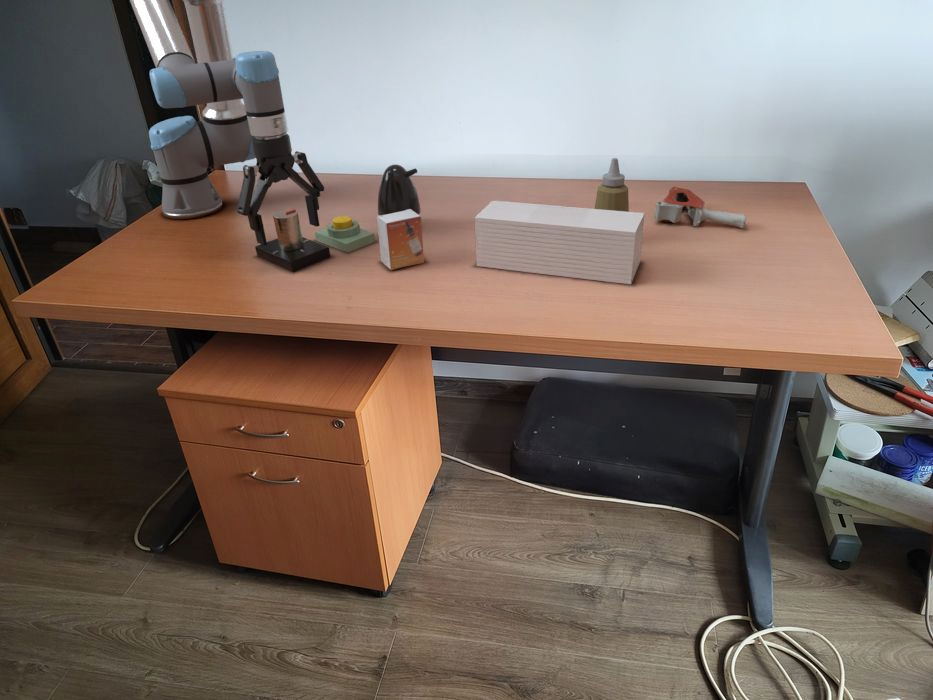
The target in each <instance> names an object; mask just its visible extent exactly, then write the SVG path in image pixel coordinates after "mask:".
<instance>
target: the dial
mask: <svg viewBox="0 0 933 700" xmlns="http://www.w3.org/2000/svg"><path fill="white" fill-rule="evenodd" d="M272 216H273V217H272V218H273V222H274V228H275V232H276V237H277V238H276V239H278V243H279V247H280V249H281V250H283V251H293V250H297V249H300V248H302V247H303V239H302V237H303V233H302V230H301V224H300V217H299V213H298V211H297V210H296V209H294V208H293V209H284V210H280V211H276V212H274V213H273V214H272Z"/></svg>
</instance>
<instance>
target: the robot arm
mask: <svg viewBox="0 0 933 700" xmlns="http://www.w3.org/2000/svg"><path fill="white" fill-rule="evenodd" d="M181 1H182V2H183V3H184V5H185V10H186V15H187V19H188V24H189V28H190V33H191V37H192V38H191V39H192V42H193V47H194V48H193V49H194V52H195V57H196V61H195V58H194V56H193V53H192V51H191V48H190V46H189V44H188V42H187V39H186V37H185V35H184V32H183V30H182V27H181V25H180V23H179V21H178V20H179V19H178V18H177V15H176V13H175V11H174V9H173V6H172V4H171V1H170V0H129V3H130V4H131V8H132V10H133V13H134V15H135V17H136V20H137V22H138V25H139V27H140V30H141V33H142V35H143V38H144V41H145V43H146V45H147V48H148V52H149V53H150V56H151V58H152V61H153V64H154V66H155V68H152V69H150V70H149V79H150V83H151V87H152V91H153V93H154V97H155V100H156V102H157V104H158V105H159V106H160V107H161V108H162V109H179V108H180V109H181V108H184V109H185V108H186V107H193V106H199V105H200V106H201V105H206V106H205V107H204V109H203V110H202V113H201V114H202V119H203V120H197V121H196V119H195V118H194V117H193V116H192V115H184V116H183V115H182V116H176V117H172V118H168V119H165V120H163V121H160V122H157V123H156V124H154V125H153V126H151V127H150V128H149V131H148V137H149V141H150V148H151V150H152V151H153V155H154V158H155V162H156V166H157V170H158V172H159V177H160V180H161V184H162V193H161V194H162V195H161V210H162V215H163V216H164V217H165V218H167V219H172V220H189V219H197V218H201V217H205V216H208V215H211V214H214V213H216V212H218V211H220V210H221V209H222V208H223V206H224V203H223V200H222V198H221V196H220V194H219V192H218V191H217V189H216V186H214V184H213V183H212V181H211V179H210V177H209V174H208V169H207V168H214V167H219V166H225V165H231V164H236V163H244V162H247V161H251V160H254V159H255V160H256V162H255V163H256V164H255V165H248V164H244V165H243V167H242V171H243V179H242V185H241V189H240V195H239V198H238V204H237V210H236V212H237V214H240V215H242V216H244V217H247V220H248V224H249V228H250V230H251V231H254V234H255V239H256V243H257V244H258V245H261V244H262V245H267V242H268V241H267V237H266V232H265V227H264V223H263V218H262V214H259V211H260V209H261V207H262V205H263V202H264V199H265V198H266V195H267V193H268V190H269V188H271V187H272V186H273V183H274V184H277V183H279V182H281V181H287V180H288V179H291V181H293V183H295V184H296V185H297V186H298V187H299V188H301V189H302V190H303V192H305V193H306V194H308V195H305V196H304V200H305V206H306V210H307V211H306V212H307V216H308V217H307V218H308V221H309V223H308V224H309V225H311V226H313V227H317V228H318V227H320V221H319V220H320V219H319V213H318V211H319V210H320V203H319V197H321V192H324V191H325V186H324V185H323V183H322V181H321V180H320V178H319V177H318V175H317V174H316V172H315V171H314V169H313V168H312V166H311V165H310V163H309V162H308V158H307V155H306V153H305V152H301V151H298V150H296V151H295V152H294V154H292V151H293V148H292V143H291V138H290V135H289V134H288V132H289V128H288V122H287V117H286V110H285V104H284V99H283V93H282V87H281V82H280V76H279V74H280V71H279V68H278V64H277V62H276V57H275V55H274V53H272V52H271V51H268V50H253V51H243V52H240V53H238V54H237V55H236V56H235V57H234V53H233V49H232V43H231V38H230V32H229V28H228V22H227V16H226V11H225V5H224V0H181ZM196 62H197V63H196ZM242 101H243V102H242ZM295 164H297V166H298V167H299V169H300V170H301V172H302V173H303V175H304V176H305V178H306V180H307V181H308V182H307V181H306V180H305V179H304V178H303V177H302V176H301V175H300V174H299V173H298V172H297V170H295V169H294V165H295ZM258 173H259V176H258ZM257 176H258V178H257V180H256V177H257ZM256 182H257V184H256ZM255 184H256V186H255Z"/></svg>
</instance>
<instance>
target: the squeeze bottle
mask: <svg viewBox="0 0 933 700" xmlns="http://www.w3.org/2000/svg"><path fill="white" fill-rule="evenodd" d="M619 164H620V163H619V159H618V158H617V157H612V158H611V162H610V164H609V168H608V173H604V174H603V175H602V180H601V181H602V183H601V184H600V185H599V186H597V191H596V197H595V203H594V209H601V210H613V211H625V212H630V205H629V203H630V202H629V187H628V186H627V185H626V184H625V179H626V178H625V175H624V174H623V173H621V172H620V165H619Z"/></svg>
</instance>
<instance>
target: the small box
mask: <svg viewBox="0 0 933 700" xmlns="http://www.w3.org/2000/svg"><path fill="white" fill-rule="evenodd" d="M376 225H377V234H378V235H377V236H378V243H379V251H380V261H381V263H382V264H383V265H384V266H386V267H387V268H388V269H389V270H390V271H394V270H397V269H401V268H404V267H405V268H406V267H409V266H415V265H419V264H424V263H425V254H424V253H425V252H424V251H425V250H424V240H423V239H424V238H423V227H422V217H421V215H420V214H419V215H418V214H417V213H415V212H414V211H413V210H411V209H408V210H405V211H400V212H396V213H391V214H386V215H379V216H378V215H376Z"/></svg>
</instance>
